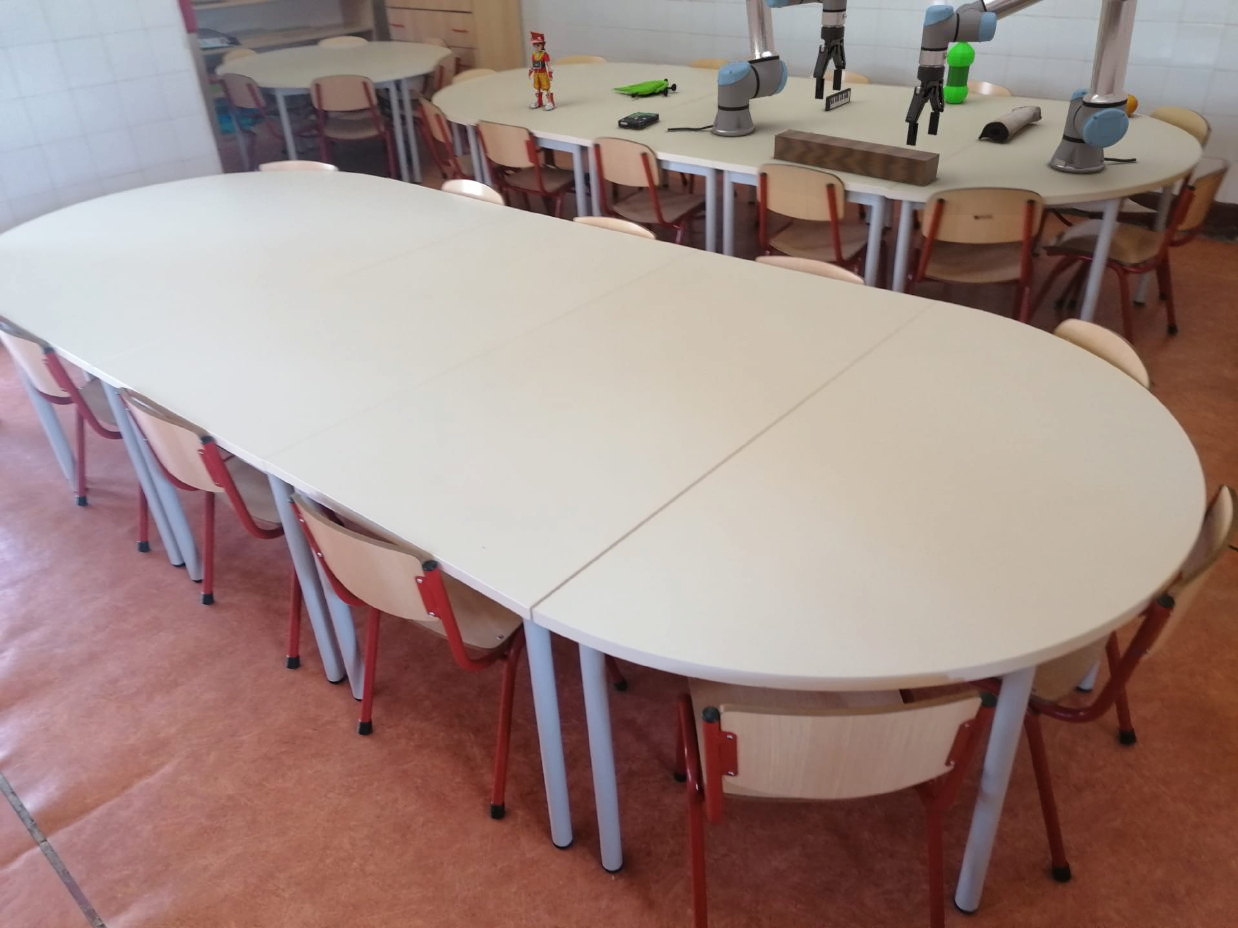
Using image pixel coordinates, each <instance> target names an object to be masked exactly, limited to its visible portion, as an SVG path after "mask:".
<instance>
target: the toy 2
mask: <svg viewBox="0 0 1238 928" xmlns="http://www.w3.org/2000/svg"><path fill="white" fill-rule="evenodd" d="M669 85H670V83H669V79H668V78H664V79H663V80H649V81H644V82H640V83H634V84H629V85H627V86H621V87H613V88H612V89H613V90H616V91H619V92H623V93H627V94H628V93H629V94H631V95H630V96H631V98H632V99H634V98H636V96H637V95H650V94H652V93H654V94H658V93H662V95H663V96H665V97H667V96H668V95H669V90H671V91H672V92H676V91H677V84H676V83H672V84H671V86H669Z"/></svg>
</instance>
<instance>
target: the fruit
mask: <svg viewBox="0 0 1238 928" xmlns="http://www.w3.org/2000/svg"><path fill="white" fill-rule="evenodd" d="M1126 94H1127V95H1128V101H1127V107H1126V114H1127V116H1128V117H1129V116H1130V115H1132V114H1133V113H1135V111H1136V110H1137V109H1138V106H1139V101H1138V99H1137V97H1136V96H1134V95H1133V94H1128V93H1126Z"/></svg>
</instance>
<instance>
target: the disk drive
mask: <svg viewBox="0 0 1238 928" xmlns="http://www.w3.org/2000/svg"><path fill="white" fill-rule="evenodd" d="M658 121H660V113H654V112H642V111H637V112H633V113H631V114H629V115H627V116H624V117H623V118H620V119H618V120H617V126H618V128H619V127H620V128H624V129H632V130H643V129H644V128H646V127H648V126H650V125H652V124H654V123H656V122H658Z"/></svg>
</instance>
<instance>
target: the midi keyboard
mask: <svg viewBox="0 0 1238 928" xmlns="http://www.w3.org/2000/svg"><path fill="white" fill-rule="evenodd" d="M851 95H852V88H851V87H847V88H845V89H841V90H840V91H837V92H834V93H833V94H832V93H831V94H830V95H827V96H825V105H824V106H825V107H824V111H830V110H831V109H835V108H837V107H839V106H841V105H844V104H846V103H848V102H851Z"/></svg>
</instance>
